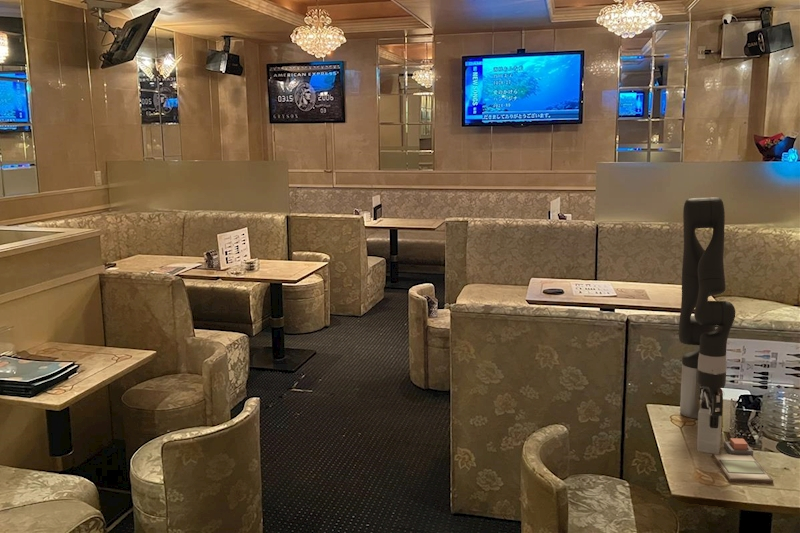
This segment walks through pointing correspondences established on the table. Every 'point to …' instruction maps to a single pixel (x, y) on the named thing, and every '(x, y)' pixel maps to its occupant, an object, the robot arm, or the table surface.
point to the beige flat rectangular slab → (741, 468)
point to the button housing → (737, 450)
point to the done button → (738, 443)
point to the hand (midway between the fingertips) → (709, 422)
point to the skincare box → (708, 433)
